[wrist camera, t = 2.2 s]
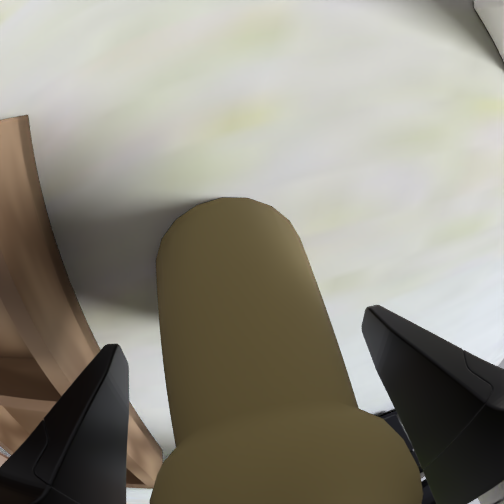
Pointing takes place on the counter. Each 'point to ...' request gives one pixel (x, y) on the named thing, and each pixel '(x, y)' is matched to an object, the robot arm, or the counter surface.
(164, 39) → the counter surface
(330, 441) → the cork
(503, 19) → the jar
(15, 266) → the holder
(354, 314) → the counter surface
